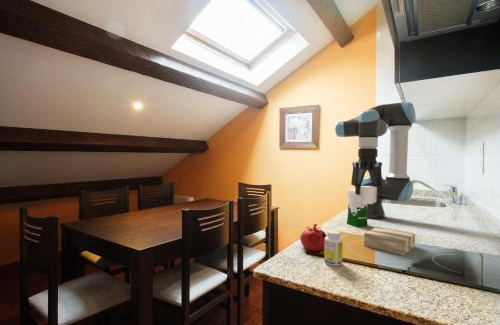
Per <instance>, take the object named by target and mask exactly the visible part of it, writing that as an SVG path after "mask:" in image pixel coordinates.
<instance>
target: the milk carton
mask: <svg viewBox="0 0 500 325" xmlns="http://www.w3.org/2000/svg"><path fill="white" fill-rule="evenodd" d="M346 191H347V201H348V202H347V219H346V224H347V225H350V226H354V227H355V228H359V227H368V218H367V204H363V203H358V202H356V194H355V188H349V189H348V188H347V189H346Z"/></svg>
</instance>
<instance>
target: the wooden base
mask: <svg viewBox="0 0 500 325" xmlns="http://www.w3.org/2000/svg"><path fill="white" fill-rule="evenodd" d="M415 237H416V233H413V232H408V231H402V230H396V229H392V228H385V227H380V226H377V227H374V228H372V229H370V230H368V231H366V232H364V236H363V246H364V247H367V248H371V249H376V250H379V251H383V252H388V253H392V254H397V255H401V256H405V255H406V254H407V253H409V252H410V251H411V250H412V249H413V248H415V243H416V240H415V239H416V238H415Z"/></svg>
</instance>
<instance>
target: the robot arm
mask: <svg viewBox="0 0 500 325" xmlns="http://www.w3.org/2000/svg"><path fill="white" fill-rule="evenodd" d="M416 119H417V116H416V110H415V107H414V104H413V103H412V102H410V101H409V102H408V101H407V102H406V101H405V102H403V101H402V102H396V103H395V102H394V103H386V104H379V105H376V106H373V107H371V108H368V109H367V110H366V109H365V110H364V111H361V112H360V113H359V115H358V116H356V117H353V118H351V119H348V120H345V121H344V120H342V121H337V122H336V124H335V127H334V128H335V129H334V131H335V135H336V136H337V137H339V138H350V137H353V138H354V137H358V150H357V151H358V152H357V153H358V154H357V156H358V160H357V161H352V174H351V183H350V185H352V186H354V187H355V188H354V189H355V194H356V202H358V203H362V190H363V187H361V186H373V187H375V194H374V202H373V204H367V219H370V218H371V219H372V220H374V219H375V220H381V219H382V218H383V219H385V217H386V213H385V210H384V207H383V200H384V201H389V202H390V201H392V202H399V203H400V202H401V203H407V202H409V201H410V199H411V198H412V195H413V192H414V191H413V190H414V182H413V181H412V180H410V179H411V177H410V176H409V175H408V174H407V173H408V150H409V149H408V148H409V130H410V129H411V128H412V125H413V124H416V122H417V120H416ZM388 130H390V139H389V140H390V141H389V142H390V143H389V163H388V164H389V165H388V166H389V167H388V171H389V172H388V174H387V175H386V176H385V178H384V177H383V176H382V166H383V163H382V162H381V161H377V158H378V153H379V152H378V149H377V148H378V147H379V137H383V136H384V135H385V134H386V133H387V132H388ZM367 172H368V174H369V176H367V177H365V176H366V175H365V174H366V173H367ZM371 219H370V220H371ZM383 219H382V220H383Z"/></svg>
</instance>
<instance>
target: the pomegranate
mask: <svg viewBox="0 0 500 325" xmlns="http://www.w3.org/2000/svg"><path fill="white" fill-rule="evenodd" d="M317 225H318V224H317V223H313V225H312V226H311V227H310V226H306V227H305V229H304V230H303V231H302V232H301V235H300V237H299V241H300V242H301V245H302V247H304V248H305V249H306V250H308V251H311V252H319V251H323V250H325V237H327V233H326V232H325V231H323V230H322V229H321V227H317Z"/></svg>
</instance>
